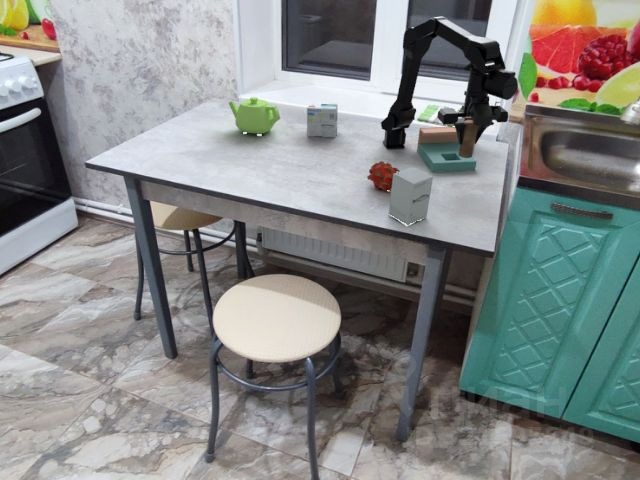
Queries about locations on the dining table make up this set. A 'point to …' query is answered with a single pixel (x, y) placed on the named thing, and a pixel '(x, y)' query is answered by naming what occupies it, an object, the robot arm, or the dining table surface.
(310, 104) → the light bulb box
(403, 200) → the supplement box
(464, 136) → the walnut peg
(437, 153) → the socket plate
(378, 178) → the dragon fruit
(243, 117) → the teapot
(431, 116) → the dish towel
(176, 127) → the dining table surface
